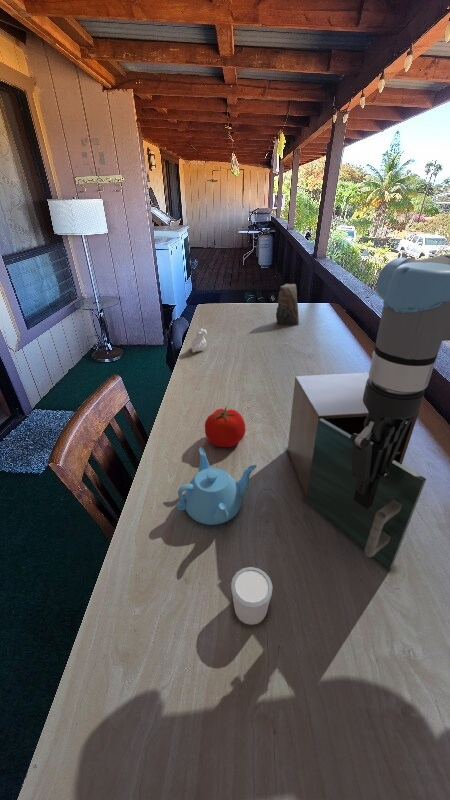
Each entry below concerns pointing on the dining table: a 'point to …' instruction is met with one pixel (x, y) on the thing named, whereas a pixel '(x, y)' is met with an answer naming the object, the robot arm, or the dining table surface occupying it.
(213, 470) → the teapot
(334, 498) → the cupboard door
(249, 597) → the glass of milk
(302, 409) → the cupboard
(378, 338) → the robot arm
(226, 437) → the tomato
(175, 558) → the dining table surface
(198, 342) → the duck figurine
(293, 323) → the brown rock
